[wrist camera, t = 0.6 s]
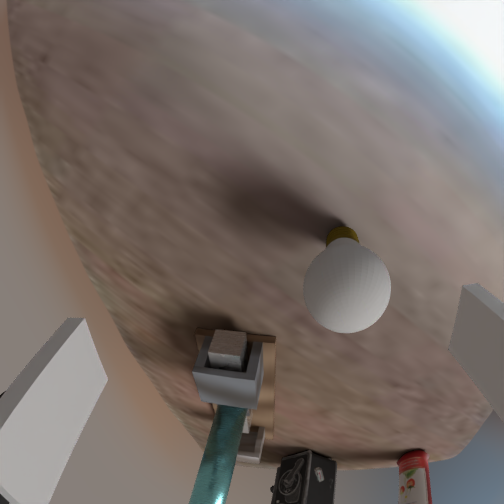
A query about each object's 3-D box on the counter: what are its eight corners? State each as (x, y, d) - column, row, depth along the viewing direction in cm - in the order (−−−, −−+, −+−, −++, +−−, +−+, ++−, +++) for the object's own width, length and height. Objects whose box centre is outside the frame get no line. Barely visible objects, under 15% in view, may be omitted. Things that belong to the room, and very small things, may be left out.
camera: (268, 456, 55) (255, 522, 43) (306, 445, 50) (296, 520, 37) (304, 469, 57) (295, 529, 45) (342, 459, 52) (337, 526, 40)
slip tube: (212, 328, 33) (149, 503, 17) (249, 332, 33) (201, 518, 17) (228, 411, 43) (195, 531, 27) (255, 415, 42) (227, 538, 26)
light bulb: (335, 275, 29) (338, 362, 21) (292, 231, 27) (280, 314, 19) (388, 239, 26) (414, 322, 18) (346, 189, 24) (362, 261, 16)
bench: (197, 328, 36) (178, 373, 31) (276, 336, 34) (267, 386, 29) (221, 427, 50) (213, 460, 45) (273, 435, 49) (267, 468, 43)
